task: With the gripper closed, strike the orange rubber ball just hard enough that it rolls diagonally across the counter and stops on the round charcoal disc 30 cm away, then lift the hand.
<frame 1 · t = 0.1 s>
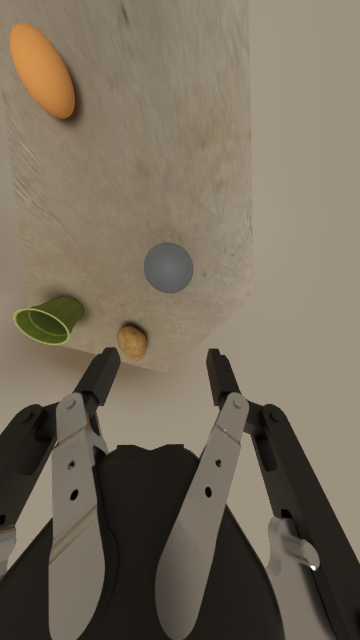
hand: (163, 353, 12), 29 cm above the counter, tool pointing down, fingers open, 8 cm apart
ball: (46, 77, 18), on the counter
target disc: (168, 270, 36), on the counter
plant pot: (71, 305, 42), on the counter
potato: (135, 333, 50), on the counter
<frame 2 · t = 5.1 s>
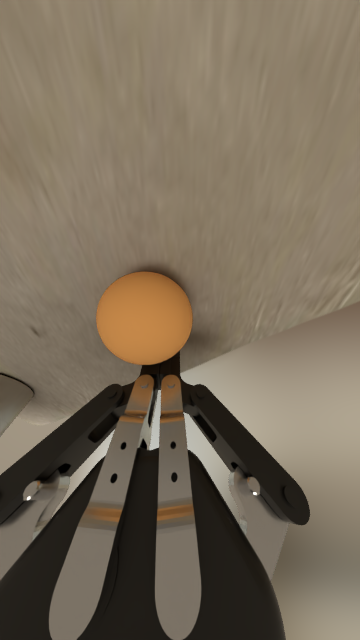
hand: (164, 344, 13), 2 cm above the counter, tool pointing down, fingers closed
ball: (148, 318, 9), on the counter, touching gripper
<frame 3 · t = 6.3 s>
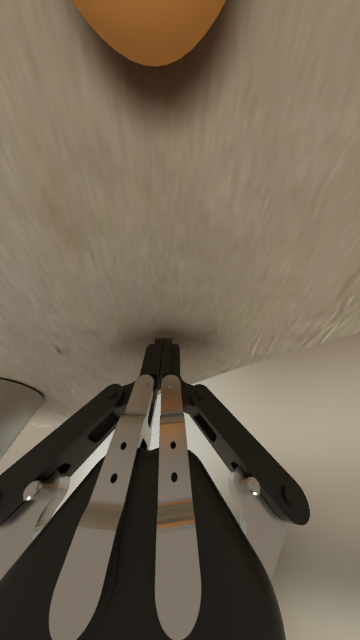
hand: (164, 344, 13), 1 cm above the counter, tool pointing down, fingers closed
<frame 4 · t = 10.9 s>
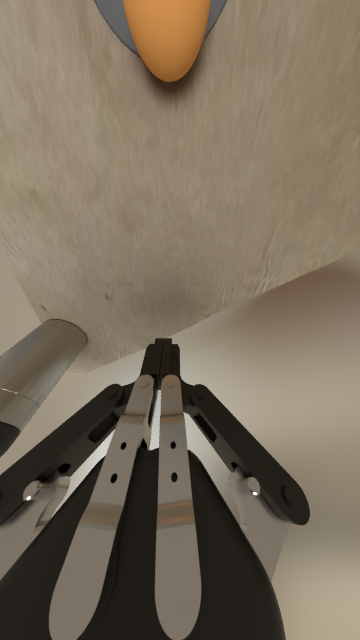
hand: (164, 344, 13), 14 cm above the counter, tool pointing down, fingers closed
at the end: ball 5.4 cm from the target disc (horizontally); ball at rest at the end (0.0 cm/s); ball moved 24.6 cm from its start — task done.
